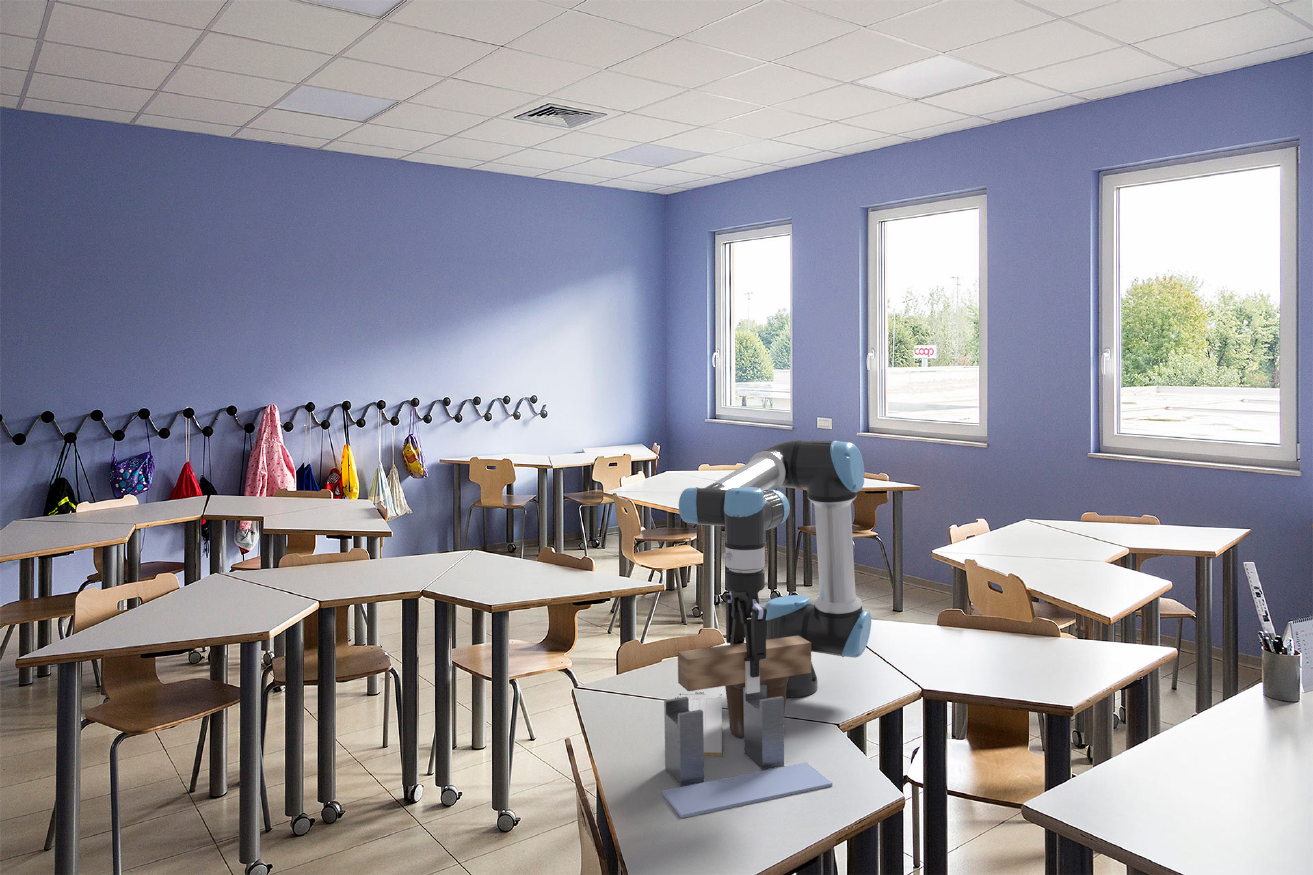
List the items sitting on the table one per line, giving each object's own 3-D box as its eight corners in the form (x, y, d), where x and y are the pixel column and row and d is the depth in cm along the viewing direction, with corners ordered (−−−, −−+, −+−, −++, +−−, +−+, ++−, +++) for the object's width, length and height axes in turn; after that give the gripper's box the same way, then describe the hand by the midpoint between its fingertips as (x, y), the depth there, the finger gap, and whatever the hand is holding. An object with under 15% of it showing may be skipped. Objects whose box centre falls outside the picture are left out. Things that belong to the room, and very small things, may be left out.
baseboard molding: (665, 758, 187) (721, 759, 186) (665, 745, 187) (721, 746, 186) (673, 703, 218) (722, 703, 217) (673, 691, 218) (722, 692, 217)
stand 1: (687, 764, 183) (686, 696, 182) (704, 781, 175) (703, 711, 174) (665, 768, 181) (664, 700, 180) (680, 786, 173) (679, 715, 172)
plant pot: (710, 721, 205) (709, 653, 203) (774, 712, 209) (774, 646, 208) (735, 750, 189) (734, 677, 188) (804, 740, 193) (803, 669, 192)
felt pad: (806, 764, 182) (806, 761, 182) (832, 785, 172) (832, 782, 172) (661, 793, 170) (661, 790, 170) (681, 817, 161) (681, 814, 161)
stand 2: (765, 749, 189) (764, 683, 188) (784, 766, 181) (783, 697, 180) (744, 753, 187) (743, 687, 186) (762, 770, 179) (761, 701, 178)
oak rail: (798, 664, 176) (798, 635, 176) (811, 672, 172) (811, 642, 171) (678, 682, 167) (677, 651, 167) (688, 691, 162) (687, 659, 162)
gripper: (707, 560, 175) (709, 675, 177) (748, 580, 158) (749, 706, 160) (741, 557, 178) (742, 670, 179) (785, 576, 161) (785, 700, 162)
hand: (745, 686), depth 170 cm, fingers closed on oak rail, 5 cm apart
